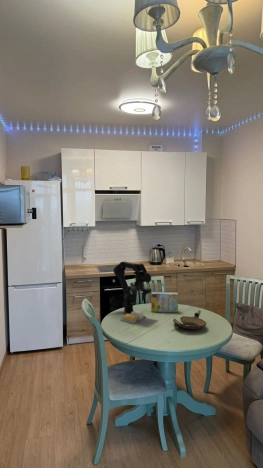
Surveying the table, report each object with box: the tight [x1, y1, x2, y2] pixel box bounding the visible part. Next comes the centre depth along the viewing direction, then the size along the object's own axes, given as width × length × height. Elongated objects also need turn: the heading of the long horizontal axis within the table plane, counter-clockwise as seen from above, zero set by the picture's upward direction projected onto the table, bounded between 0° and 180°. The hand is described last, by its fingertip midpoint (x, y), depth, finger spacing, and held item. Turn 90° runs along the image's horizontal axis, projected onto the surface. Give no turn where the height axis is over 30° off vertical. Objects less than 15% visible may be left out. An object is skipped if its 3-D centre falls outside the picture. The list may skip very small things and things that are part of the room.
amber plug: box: [123, 313, 137, 322], centre depth 227 cm, size 4×9×4 cm, turn 55°
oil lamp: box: [172, 309, 207, 330], centre depth 220 cm, size 22×30×8 cm
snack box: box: [150, 291, 179, 313], centre depth 254 cm, size 21×6×15 cm, turn 84°
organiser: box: [120, 315, 159, 328], centre depth 228 cm, size 23×16×3 cm
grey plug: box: [130, 310, 144, 319], centre depth 234 cm, size 4×9×4 cm, turn 55°
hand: (139, 300), depth 238 cm, fingers open, 6 cm apart
